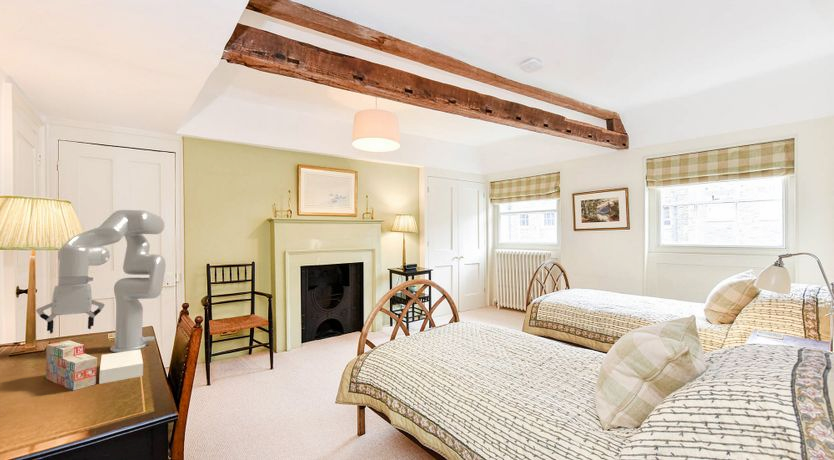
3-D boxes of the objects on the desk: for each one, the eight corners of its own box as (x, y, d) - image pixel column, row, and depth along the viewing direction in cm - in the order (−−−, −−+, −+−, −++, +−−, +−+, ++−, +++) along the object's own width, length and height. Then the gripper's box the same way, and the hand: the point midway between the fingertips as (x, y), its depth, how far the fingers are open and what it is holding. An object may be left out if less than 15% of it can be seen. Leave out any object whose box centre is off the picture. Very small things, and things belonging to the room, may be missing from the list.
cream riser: (140, 361, 148) (140, 349, 148) (142, 377, 133) (143, 363, 133) (101, 367, 141) (101, 354, 141) (99, 385, 125) (99, 370, 125)
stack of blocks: (96, 384, 125) (97, 348, 125) (73, 391, 119) (74, 353, 119) (68, 372, 134) (69, 339, 135) (45, 378, 129) (46, 343, 129)
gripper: (104, 279, 136) (102, 325, 135) (38, 281, 124) (35, 332, 123) (106, 280, 131) (104, 328, 130) (37, 284, 119) (34, 336, 118)
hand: (70, 330), depth 127 cm, fingers open, 9 cm apart
